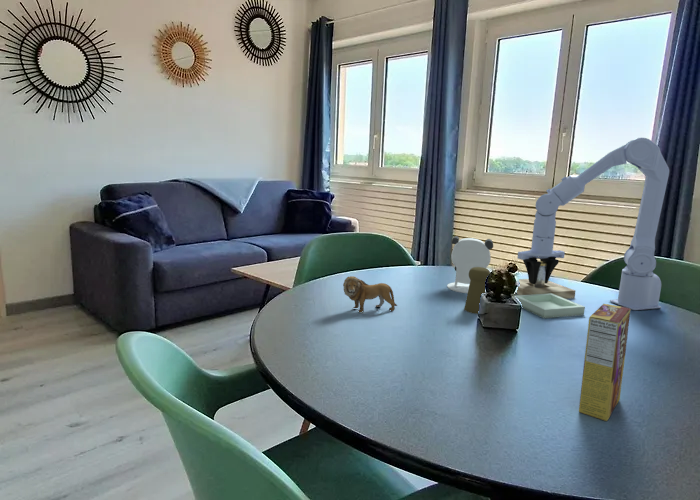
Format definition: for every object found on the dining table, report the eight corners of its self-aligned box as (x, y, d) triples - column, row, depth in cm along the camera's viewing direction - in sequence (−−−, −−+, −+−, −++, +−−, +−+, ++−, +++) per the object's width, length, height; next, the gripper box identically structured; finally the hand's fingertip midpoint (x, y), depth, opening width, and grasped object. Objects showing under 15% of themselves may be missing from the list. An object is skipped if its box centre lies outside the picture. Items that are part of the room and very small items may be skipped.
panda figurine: (488, 285, 142) (493, 237, 139) (489, 295, 131) (494, 243, 128) (448, 281, 145) (452, 234, 142) (445, 291, 134) (449, 239, 131)
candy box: (590, 390, 77) (603, 302, 74) (620, 400, 74) (634, 308, 72) (575, 411, 70) (588, 315, 68) (607, 422, 68) (622, 322, 65)
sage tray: (550, 301, 128) (551, 293, 127) (583, 315, 116) (584, 306, 116) (513, 303, 124) (513, 295, 124) (543, 318, 113) (544, 309, 113)
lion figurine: (347, 316, 110) (348, 279, 108) (338, 310, 114) (339, 274, 113) (401, 310, 115) (403, 275, 114) (391, 304, 120) (393, 270, 119)
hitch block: (540, 285, 144) (541, 278, 144) (574, 298, 131) (575, 290, 131) (502, 287, 140) (502, 280, 140) (532, 301, 127) (533, 293, 127)
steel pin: (538, 290, 138) (541, 260, 136) (546, 293, 135) (549, 263, 133) (528, 291, 137) (531, 261, 135) (536, 294, 134) (539, 263, 132)
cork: (489, 315, 114) (493, 271, 112) (464, 312, 115) (468, 269, 113) (487, 307, 120) (491, 266, 118) (463, 305, 121) (467, 264, 119)
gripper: (554, 233, 138) (549, 278, 141) (512, 234, 134) (508, 280, 137) (572, 237, 132) (566, 284, 134) (528, 238, 128) (523, 286, 130)
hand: (538, 282), depth 135 cm, fingers closed on steel pin, 3 cm apart
